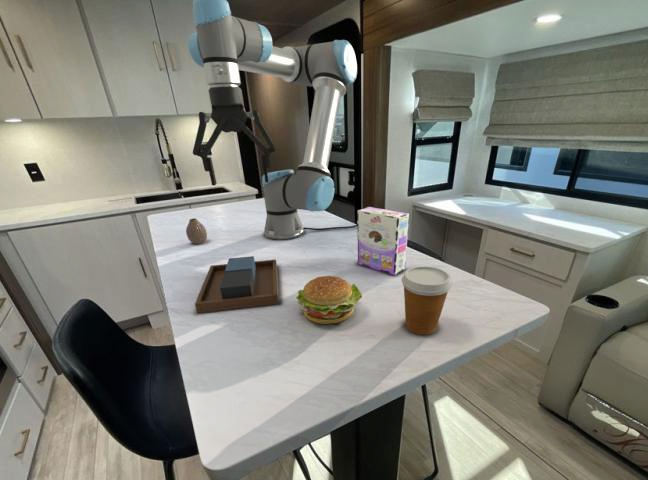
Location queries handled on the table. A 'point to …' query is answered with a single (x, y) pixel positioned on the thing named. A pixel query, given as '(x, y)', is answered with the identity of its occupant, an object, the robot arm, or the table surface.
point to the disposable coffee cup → (424, 297)
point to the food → (328, 299)
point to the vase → (196, 232)
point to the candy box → (382, 239)
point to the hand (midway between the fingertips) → (241, 183)
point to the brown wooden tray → (262, 296)
